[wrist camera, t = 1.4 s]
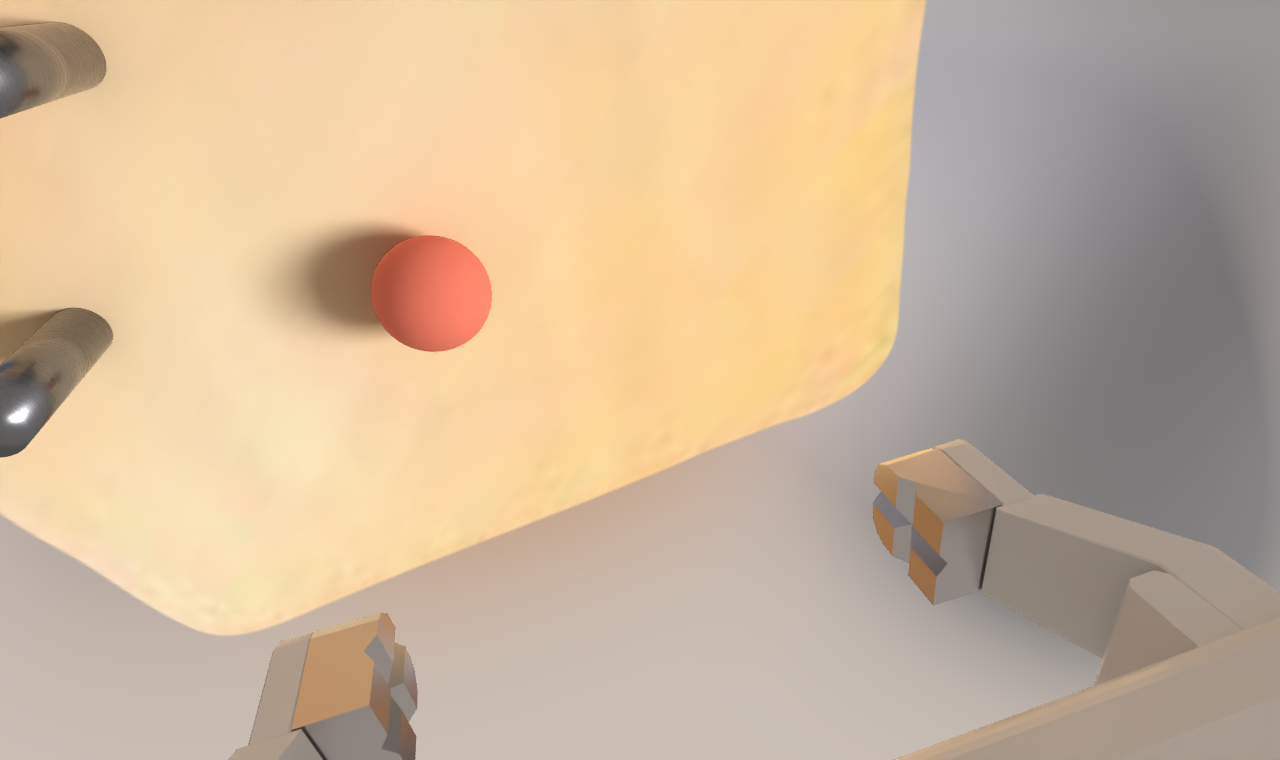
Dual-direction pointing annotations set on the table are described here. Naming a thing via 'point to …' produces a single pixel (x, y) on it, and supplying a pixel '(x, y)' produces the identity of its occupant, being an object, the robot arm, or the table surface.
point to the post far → (47, 373)
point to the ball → (431, 293)
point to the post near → (46, 64)
